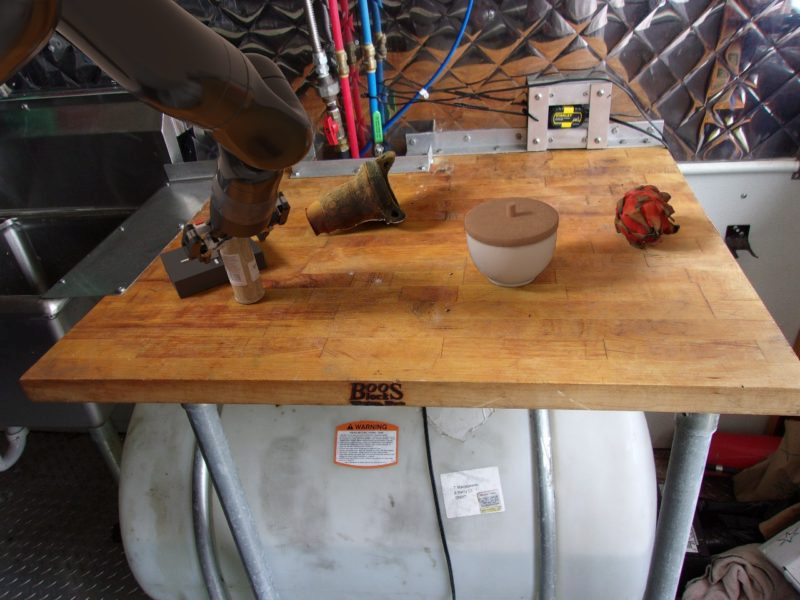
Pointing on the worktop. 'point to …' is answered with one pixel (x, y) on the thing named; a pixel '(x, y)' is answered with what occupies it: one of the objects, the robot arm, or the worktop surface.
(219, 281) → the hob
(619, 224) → the dragon fruit
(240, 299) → the sprinkles bottle
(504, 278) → the lidded bowl
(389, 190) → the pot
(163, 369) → the worktop surface
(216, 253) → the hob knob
